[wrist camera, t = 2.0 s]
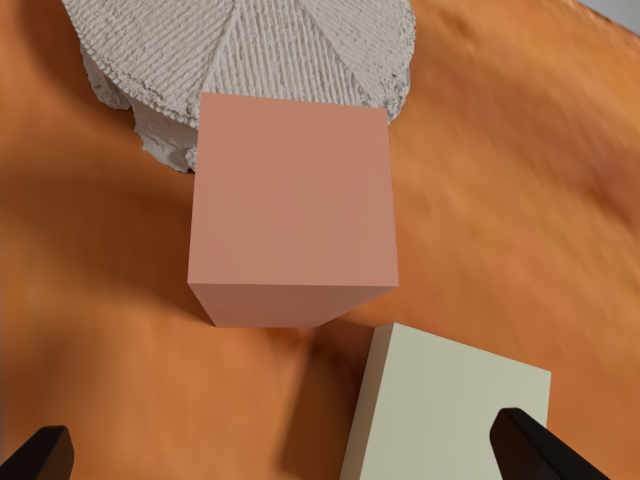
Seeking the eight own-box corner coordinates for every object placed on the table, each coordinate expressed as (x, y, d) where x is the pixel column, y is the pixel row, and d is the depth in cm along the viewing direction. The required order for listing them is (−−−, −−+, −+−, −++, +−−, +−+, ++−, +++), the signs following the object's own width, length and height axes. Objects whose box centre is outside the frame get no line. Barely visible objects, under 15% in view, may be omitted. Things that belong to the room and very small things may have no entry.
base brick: (492, 538, 20) (532, 566, 17) (335, 494, 20) (351, 517, 17) (512, 371, 23) (551, 371, 20) (374, 327, 22) (394, 322, 19)
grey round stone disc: (-1, 20, 24) (-92, -103, 17) (253, -124, 30) (255, -256, 23) (249, 265, 23) (251, 230, 16) (460, 64, 29) (523, -21, 22)
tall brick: (316, 327, 22) (399, 286, 10) (216, 327, 21) (187, 283, 9) (315, 234, 23) (386, 108, 12) (221, 230, 22) (201, 91, 11)
